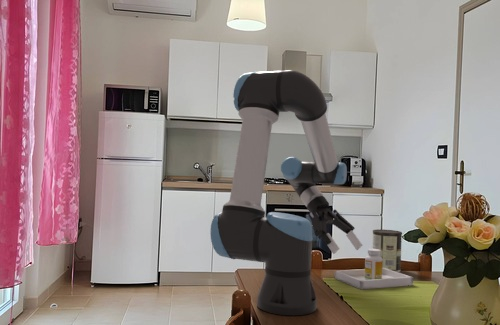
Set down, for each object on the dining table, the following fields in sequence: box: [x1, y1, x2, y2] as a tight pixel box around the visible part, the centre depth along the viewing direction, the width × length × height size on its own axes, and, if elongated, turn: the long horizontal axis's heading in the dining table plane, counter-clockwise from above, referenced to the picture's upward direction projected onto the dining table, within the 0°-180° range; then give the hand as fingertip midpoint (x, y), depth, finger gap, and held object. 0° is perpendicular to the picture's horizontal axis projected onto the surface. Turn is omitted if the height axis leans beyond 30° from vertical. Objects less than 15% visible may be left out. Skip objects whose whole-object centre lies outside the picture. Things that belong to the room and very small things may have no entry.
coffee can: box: [372, 229, 403, 273], centre depth 166 cm, size 10×10×14 cm
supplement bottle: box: [364, 248, 382, 280], centre depth 146 cm, size 5×5×10 cm
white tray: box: [334, 268, 414, 290], centre depth 146 cm, size 20×14×2 cm
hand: (348, 249), depth 153 cm, fingers open, 13 cm apart
